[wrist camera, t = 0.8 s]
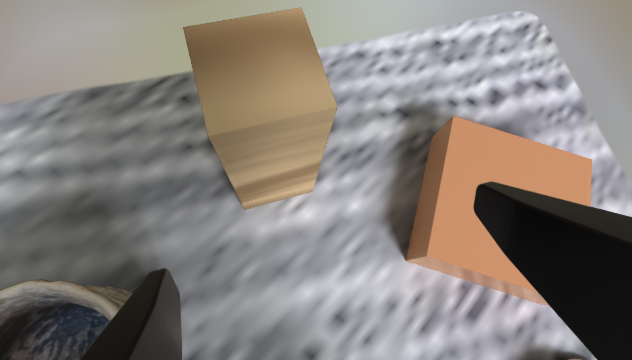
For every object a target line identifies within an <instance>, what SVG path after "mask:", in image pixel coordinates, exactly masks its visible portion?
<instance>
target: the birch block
mask: <svg viewBox="0 0 632 360" xmlns="http://www.w3.org/2000/svg"><path fill="white" fill-rule="evenodd" d="M183 29H184V33H185V38H186V42H187V46H188V50H189V55H190V59H191V64H192V68H193V72H194V77H195V81H196V85H197V90H198V94H199V98H200V102H201V107H202V111H203V115H204V120H205V124H206V128H207V133H208V137H209V139H210V141H211V143H212V145H213V147H214V149H215V151H216V153H217V155H218V157H219V159H220V161H221V163H222V165H223V167H224V169H225V171H226V173H227V175H228V177H229V179H230V181H231V183H232V185H233V187H234V189H235V191H236V193H237V195H238V197H239V199H240V201H241V204H242V206H243V208H244V210H245V209H249V208H253V207H257V206H260V205H264V204H268V203H271V202H275V201H279V200H283V199H286V198H290V197H294V196H297V195H301V194H305V193H309V192H312V191H313V188H314V184H315V181H316V178H317V174H318V171H319V167H320V164H321V161H322V157H323V154H324V150H325V147H326V144H327V140H328V137H329V133H330V130H331V127H332V123H333V120H334V117H335V113H336V110H337V105H336V102H335V99H334V96H333V94H332V91H331V88H330V85H329V83H328V80H327V77H326V74H325V71H324V69H323V66H322V63H321V60H320V57H319V55H318V52H317V49H316V46H315V43H314V41H313V38H312V35H311V32H310V30H309V27H308V24H307V21H306V18H305V15H304V13H303V10H302V8H294V9H288V10H283V11H277V12H271V13H265V14H259V15H253V16H247V17H241V18H235V19H229V20H223V21H218V22H212V23H206V24H200V25H194V26H188V27H183Z"/></svg>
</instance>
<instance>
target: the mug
mask: <svg viewBox="0 0 632 360" xmlns="http://www.w3.org/2000/svg"><path fill="white" fill-rule="evenodd" d="M131 295H132V292H130V291H128V290H124V289H120V288H116V287H109V286H97V285H86V286H81V285H78V284H75V283H71V282H68V281H55V282H51V281H46V280H42V279H40V280H32V281H25V282H21V283H18V284H16V285H13V286H11V287H8V288H6V289H3V290H1V291H0V360H79V359H80V358H81V357H82V355H83V354H84V353H85V352H86V350H87V349H88V348H89V347H90V346H91V344H92V343H93V342H94V341H95V339H96V338H97V337H98V336H99V334H100V333H101V332H102V331H103V329H104V328H105V327H106V326H107V324H108V323H109V322H110V321H111V319H112V318H113V317H114V316H115V315H116V313H117V312H118V311H119V310H120V308H121V307H122V306H123V305H124V303H125V302H126V301H127V300H128V298H129V297H130V296H131Z"/></svg>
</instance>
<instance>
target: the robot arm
mask: <svg viewBox="0 0 632 360" xmlns="http://www.w3.org/2000/svg"><path fill="white" fill-rule="evenodd" d="M473 208H474V212H475V214H476V216H477V217H478V219H479V220H480V221H481V223H482V224H483V226H484V227H485V228H486V230H487V231H488V232H489V234H490V235H491V237H492V238H493V239H494V241H495V242H496V244H497V245H498V246H499V248H500V249H501V250H502V252H503V253H504V254H505V255H506V257H507V258H508V259H509V260H510V261H511V263H512V264H513V265H514V266H515V267H516V268H517V269H518V270H519V272H520V273H521V274H522V275H523V276H524V277H525V278H526V280H527V281H528V282H529V283H530V284H531V285H532V286H533V287H534V289H535V290H536V291H537V292H538V293H539V294H540V295H541V297H542V298H543V299H544V300H545V301H546V302H547V303H548V304H549V306H550V307H551V308H552V309H553V310H554V311H555V312H556V314H557V315H558V316H559V317H560V318H561V319H562V320H563V321H564V323H565V324H566V325H567V326H568V327H569V328H570V329H571V331H572V332H573V333H574V334H575V335H576V336H577V337H578V338H579V340H580V341H581V342H582V343H583V344H584V345H585V346H586V348H587V349H588V350H589V351H590V352H591V353H592V354H593V355H594V357H595V358H596V359H597V360H632V217H629V216H625V215H621V214H617V213H613V212H610V211H606V210H602V209H598V208H594V207H590V206H586V205H582V204H578V203H575V202H571V201H567V200H563V199H559V198H555V197H551V196H547V195H543V194H539V193H536V192H532V191H528V190H524V189H520V188H516V187H512V186H508V185H504V184H501V183H497V182H492V181H490V182H486V183H482V184H479V185H478V186H477V188H476V193H475V199H474V206H473ZM79 360H182V339H181V312H180V295H179V291H178V288H177V286H176V284H175V282H174V280H173V278H172V276H171V274H170V272H169V270H168V269H166V268H163V269H160V270H156V271H152V272H150V273H149V274H148V275H147V276H146V277H145V279H144V280H143V281H142V282H141V284H140V285H139V286H138V287H137V288H136V290H135V291H134V292H133V293H132V295H131V296H130V297H129V298H128V300H127V301H126V302H125V303H124V305H123V306H122V307H121V308H120V310H119V311H118V312H117V313H116V315H115V316H114V317H113V318H112V319H111V321H110V322H109V323H108V324H107V326H106V327H105V328H104V329H103V331H102V332H101V333H100V334H99V336H98V337H97V338H96V339H95V341H94V342H93V343H92V344H91V346H90V347H89V348H88V349H87V350H86V352H85V353H84V354H83V355H82V357H81V358H80V359H79Z"/></svg>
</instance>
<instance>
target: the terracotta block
mask: <svg viewBox="0 0 632 360" xmlns="http://www.w3.org/2000/svg"><path fill="white" fill-rule="evenodd" d="M591 173H592V159H588V158H585V157H582V156H579V155H576V154H573V153H569V152H566V151H563V150H560V149H557V148H554V147H551V146H547V145H544V144H541V143H538V142H535V141H532V140H528V139H525V138H522V137H519V136H516V135H513V134H510V133H506V132H503V131H500V130H497V129H494V128H491V127H488V126H484V125H481V124H478V123H475V122H472V121H469V120H465V119H462V118H459V117H456V116H453V117H452V118H451V119H450V120H449V121H448V122H447V123H446V124H445V125H444V126H443V127H442V128H441V129H440V130H439V131H438V132H437V133H436V134H435V135H434V136H433V137H432V139H431V144H430V149H429V154H428V158H427V163H426V168H425V173H424V177H423V182H422V187H421V192H420V196H419V201H418V206H417V211H416V215H415V220H414V225H413V230H412V234H411V239H410V244H409V249H408V253H407V258H406V261H408V262H411V263H414V264H417V265H420V266H423V267H426V268H429V269H433V270H436V271H439V272H442V273H445V274H448V275H451V276H454V277H457V278H461V279H464V280H467V281H470V282H473V283H476V284H479V285H482V286H485V287H488V288H492V289H495V290H498V291H501V292H504V293H507V294H510V295H513V296H516V297H520V298H523V299H526V300H529V301H532V302H535V303H538V304H541V305H549V304H548V303H547V302H546V301H545V300H544V299H543V298H542V297H541V295H540V294H539V293H538V292H537V291H536V290H535V289H534V287H533V286H532V285H531V284H530V283H529V282H528V281H527V280H526V278H525V277H524V276H523V275H522V274H521V273H520V272H519V270H518V269H517V268H516V267H515V266H514V265H513V264H512V263H511V261H510V260H509V259H508V258H507V257H506V255H505V254H504V253H503V252H502V250H501V249H500V248H499V246H498V245H497V244H496V242H495V241H494V239H493V238H492V237H491V235H490V234H489V232H488V231H487V230H486V228H485V227H484V226H483V224H482V223H481V221H480V220H479V219H478V217H477V216H476V214H475V212H474V208H473V206H474V199H475V193H476V188H477V186H478V185H479V184H482V183H486V182H490V181H492V182H497V183H501V184H504V185H508V186H512V187H516V188H520V189H524V190H528V191H532V192H536V193H539V194H543V195H547V196H551V197H555V198H559V199H563V200H567V201H571V202H575V203H578V204H582V205H586V206H590V202H591Z"/></svg>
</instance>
